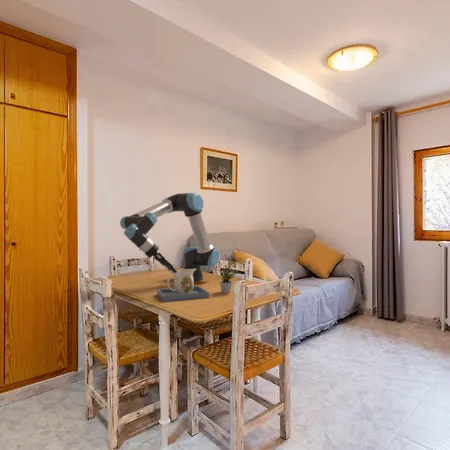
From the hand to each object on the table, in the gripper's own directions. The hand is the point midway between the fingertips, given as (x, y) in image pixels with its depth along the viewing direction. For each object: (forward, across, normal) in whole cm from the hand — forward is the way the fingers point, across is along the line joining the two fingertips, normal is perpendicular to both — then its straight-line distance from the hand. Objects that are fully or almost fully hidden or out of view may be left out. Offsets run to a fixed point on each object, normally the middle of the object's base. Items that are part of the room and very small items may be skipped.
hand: (176, 274), depth 181 cm
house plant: (+29, +1, +11) cm, 31 cm away
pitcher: (+11, 0, -6) cm, 13 cm away
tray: (+11, 0, -6) cm, 13 cm away
